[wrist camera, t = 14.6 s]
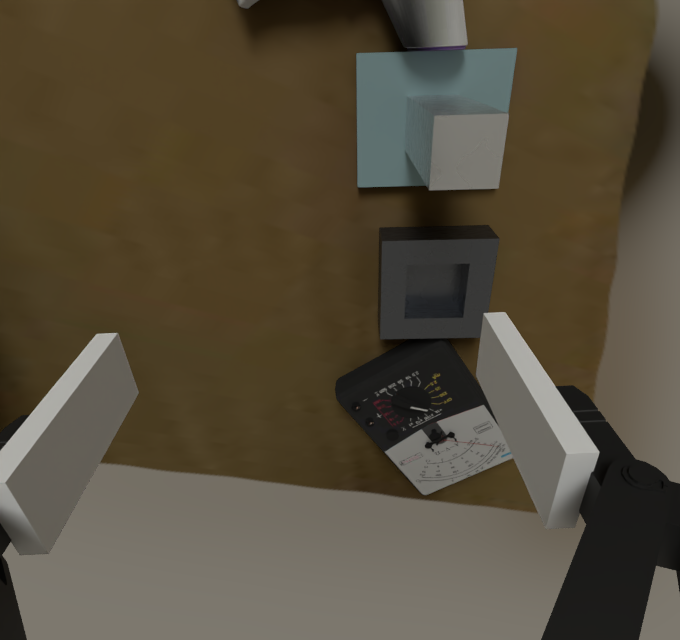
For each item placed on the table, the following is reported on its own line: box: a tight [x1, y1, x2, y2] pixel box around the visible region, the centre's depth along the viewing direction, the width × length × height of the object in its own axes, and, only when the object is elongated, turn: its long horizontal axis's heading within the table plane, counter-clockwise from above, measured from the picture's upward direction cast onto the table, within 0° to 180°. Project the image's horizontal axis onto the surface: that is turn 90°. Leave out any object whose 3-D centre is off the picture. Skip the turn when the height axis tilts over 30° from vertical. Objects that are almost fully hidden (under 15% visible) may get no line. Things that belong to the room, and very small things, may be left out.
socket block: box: [378, 225, 499, 339], centre depth 43 cm, size 10×10×4 cm
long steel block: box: [405, 95, 509, 190], centre depth 31 cm, size 4×4×13 cm
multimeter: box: [335, 338, 513, 495], centre depth 52 cm, size 13×19×5 cm
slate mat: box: [356, 48, 517, 187], centre depth 37 cm, size 12×10×1 cm
